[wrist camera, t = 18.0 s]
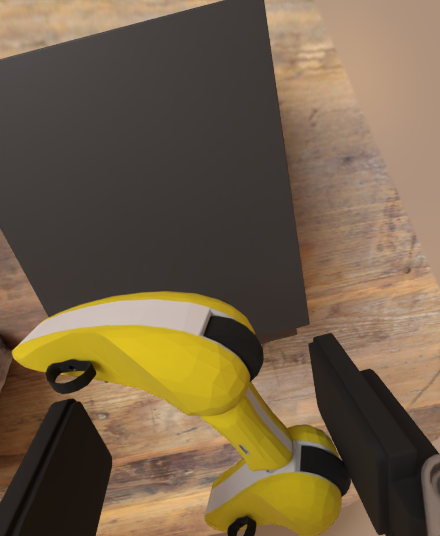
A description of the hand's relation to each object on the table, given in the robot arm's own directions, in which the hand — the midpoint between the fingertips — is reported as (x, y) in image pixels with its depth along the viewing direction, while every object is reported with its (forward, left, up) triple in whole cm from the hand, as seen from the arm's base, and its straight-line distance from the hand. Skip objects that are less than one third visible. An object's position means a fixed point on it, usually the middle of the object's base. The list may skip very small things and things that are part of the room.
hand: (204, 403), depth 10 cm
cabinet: (+1, -4, -16) cm, 17 cm away
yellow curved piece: (0, 0, -1) cm, 1 cm away
